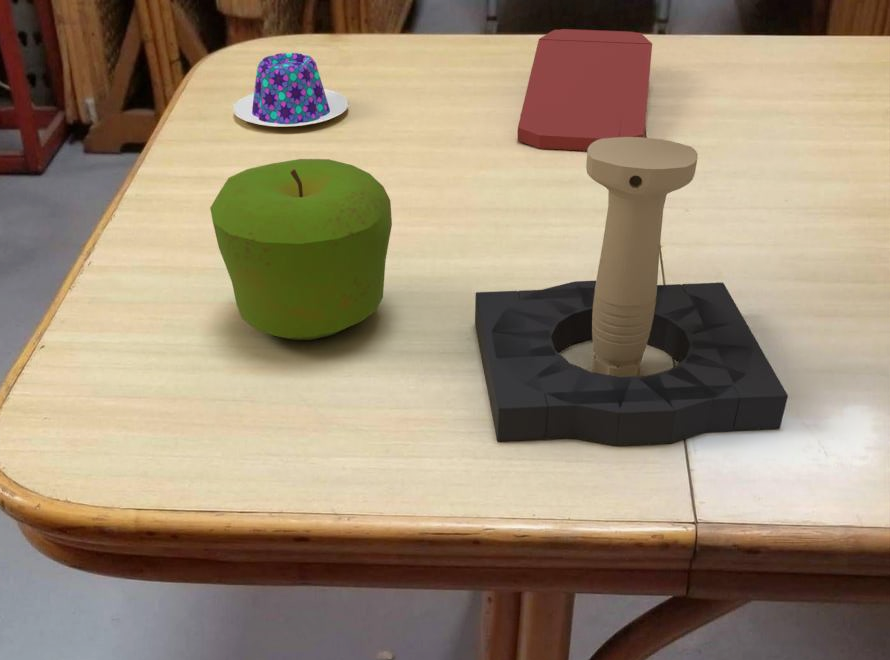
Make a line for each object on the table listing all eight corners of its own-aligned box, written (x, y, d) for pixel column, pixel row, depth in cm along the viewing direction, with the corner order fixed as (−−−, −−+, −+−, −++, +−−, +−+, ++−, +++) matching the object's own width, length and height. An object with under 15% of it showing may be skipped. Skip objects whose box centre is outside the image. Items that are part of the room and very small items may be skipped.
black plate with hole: (713, 306, 80) (719, 275, 78) (785, 438, 67) (794, 404, 65) (473, 316, 79) (474, 284, 77) (499, 451, 66) (500, 418, 64)
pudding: (333, 136, 107) (329, 82, 103) (218, 130, 108) (210, 76, 105) (360, 96, 115) (357, 44, 112) (253, 91, 117) (247, 40, 114)
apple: (334, 381, 72) (321, 221, 65) (192, 337, 77) (164, 184, 70) (424, 302, 81) (422, 152, 73) (291, 267, 85) (276, 123, 78)
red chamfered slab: (637, 187, 105) (648, 67, 121) (643, 140, 101) (654, 22, 117) (514, 180, 107) (541, 62, 122) (516, 134, 103) (543, 18, 119)
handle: (575, 348, 75) (594, 133, 65) (667, 359, 74) (700, 142, 64) (563, 384, 72) (581, 162, 62) (659, 396, 70) (694, 173, 61)
